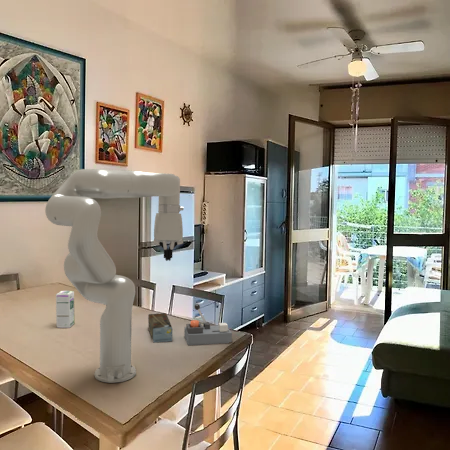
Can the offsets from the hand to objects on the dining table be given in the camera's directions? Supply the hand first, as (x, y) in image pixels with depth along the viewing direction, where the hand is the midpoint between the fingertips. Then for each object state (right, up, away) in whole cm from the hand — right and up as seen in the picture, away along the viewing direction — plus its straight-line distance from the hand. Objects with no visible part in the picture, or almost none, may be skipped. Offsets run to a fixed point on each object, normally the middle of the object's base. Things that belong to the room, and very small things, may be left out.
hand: (167, 259), depth 157 cm
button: (+9, -28, +11) cm, 31 cm away
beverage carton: (-6, -32, +18) cm, 37 cm away
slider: (+20, -29, +12) cm, 37 cm away
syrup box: (-47, -30, +25) cm, 61 cm away
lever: (+13, -27, +15) cm, 34 cm away
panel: (+14, -33, +13) cm, 38 cm away
